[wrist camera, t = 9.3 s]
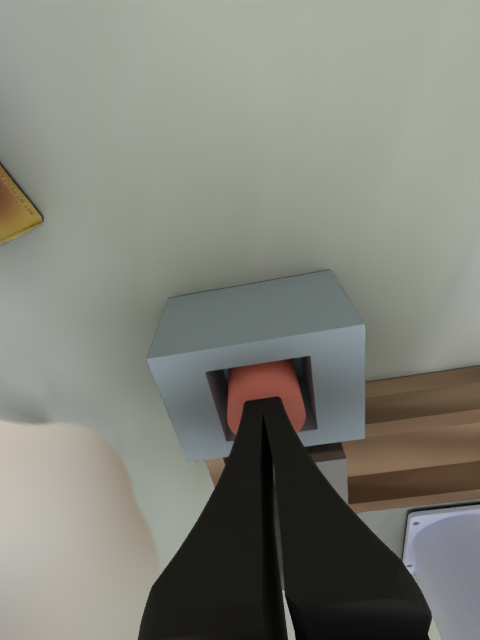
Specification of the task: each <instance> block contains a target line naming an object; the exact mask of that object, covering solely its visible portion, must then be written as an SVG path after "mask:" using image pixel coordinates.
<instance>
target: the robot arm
mask: <svg viewBox="0 0 480 640" xmlns="http://www.w3.org/2000/svg"><path fill="white" fill-rule="evenodd" d="M273 463H274V469H275V479H276V490H277V500H278V512H279V523H280V535H281V547H282V561H283V574H284V588H285V597H286V601H287V604H288V608H289V612H290V616H291V619H292V623H293V627H294V630H295V638H296V640H430V639H429V636H428V631H429V627H430V624H431V620H432V617H433V619H434V622H435V624H436V627H437V629H438V632H439V634H440V637H441V639H442V640H480V505H471V506H462V507H453V508H444V509H435V510H426V511H418V512H412V513H410V514H409V515H408V521H407V529H406V537H405V545H404V553H403V561H402V560H401V559H400V558H399V557H398V556H397V555H396V554H395V553H393V552H392V551H391V550H390V549H389V548H388V547H387V546H386V545H385V544H384V543H383V542H382V541H381V540H380V539H379V538H378V537H377V536H376V535H375V534H374V533H373V532H372V531H371V530H370V529H369V528H368V527H367V526H366V525H365V523H364V522H363V521H362V520H361V519H360V518H359V517H358V516H357V515H356V514H355V512H354V511H353V510H352V509H351V508H350V507H349V506H348V504H347V503H346V502H345V501H344V500H343V499H342V498H341V497H340V495H339V494H338V493H337V492H336V490H335V489H334V488H333V487H332V485H331V484H330V483H329V482H328V480H327V479H326V478H325V476H324V475H323V474H322V472H321V471H320V469H319V468H318V467H317V465H316V464H315V462H314V461H313V459H312V458H311V456H310V455H309V453H308V452H307V450H306V449H305V447H304V445H303V444H302V442H301V440H300V439H299V437H298V435H297V433H296V431H295V430H294V428H293V426H292V424H291V422H290V420H289V418H288V416H287V413H286V411H285V408H284V406H283V402H282V399H281V398H280V397H279V396H276V397H269V398H263V399H256V400H249V401H246V402H245V403H244V405H243V411H242V416H241V420H240V424H239V427H238V431H237V434H236V437H235V440H234V443H233V446H232V449H231V452H230V454H229V457H228V459H227V462H226V464H225V467H224V469H223V472H222V474H221V476H220V478H219V480H218V483H217V485H216V487H215V489H214V491H213V493H212V495H211V497H210V499H209V501H208V502H207V504H206V506H205V508H204V510H203V512H202V513H201V515H200V517H199V519H198V520H197V522H196V524H195V525H194V527H193V528H192V530H191V532H190V533H189V535H188V536H187V538H186V539H185V541H184V542H183V544H182V546H181V547H180V549H179V550H178V552H177V553H176V554H175V556H174V557H173V559H172V560H171V561H170V563H169V564H168V566H167V567H166V568H165V570H164V571H163V572H162V574H161V575H160V576H159V578H158V579H157V580H156V582H155V583H154V585H153V586H152V588H151V591H150V594H149V597H148V600H147V603H146V607H145V610H144V613H143V617H142V621H141V625H140V631H139V636H138V640H288V636H287V628H286V620H285V611H284V603H283V595H282V586H281V578H280V569H279V560H278V551H277V543H276V533H275V515H274V481H273ZM410 573H415V574H416V577H417V579H418V582H419V584H420V587H421V589H422V592H423V594H424V595H423V594H422V592H421V590H420V588H419V586H418V585H417V583H416V582H415V580H414V578H413V577H412V575H411V574H410Z"/></svg>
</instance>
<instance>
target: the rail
mask: <svg viewBox="0 0 480 640" xmlns="http://www.w3.org/2000/svg"><path fill="white" fill-rule="evenodd" d="M341 443H342V446H343V449H344V452H345V455H346V458H347V483H348V506H349V507H350V508H351V509H352V510H353V511H354V512H355V513H358V512H367V511H375V510H384V509H393V508H402V507H410V506H419V505H428V504H437V503H446V502H454V501H463V500H472V499H480V366H475V367H468V368H461V369H454V370H448V371H441V372H434V373H427V374H420V375H413V376H406V377H400V378H393V379H386V380H379V381H372V382H365V439H359V440H351V441H343V442H341ZM227 459H228V457H222V458H215V459H207V460H205V461H206V464H207V467H208V470H209V472H210V475H211V478H212V480H213V483H214V486H215V487H216V485H217V483H218V480H219V478H220V476H221V474H222V472H223V469H224V467H225V464H226V462H227Z"/></svg>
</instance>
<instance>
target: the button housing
mask: <svg viewBox="0 0 480 640" xmlns="http://www.w3.org/2000/svg"><path fill="white" fill-rule="evenodd" d="M365 340H366V324H365V322H364V321H363V319H362V318H361V316H360V315H359V313H358V312H357V310H356V308H355V307H354V305H353V304H352V302H351V301H350V299H349V298H348V296H347V295H346V293H345V291H344V290H343V288H342V287H341V285H340V284H339V282H338V281H337V279H336V278H335V276H334V274H333V273H332V271H331V270H327V271H321V272H315V273H309V274H304V275H298V276H292V277H287V278H281V279H275V280H269V281H264V282H258V283H252V284H247V285H241V286H235V287H229V288H224V289H218V290H212V291H207V292H201V293H195V294H189V295H184V296H178V297H172V298H169V299H168V302H167V305H166V307H165V310H164V313H163V315H162V318H161V321H160V323H159V326H158V328H157V331H156V334H155V336H154V339H153V342H152V344H151V347H150V350H149V352H148V355H147V357H146V361H147V363H148V366H149V368H150V371H151V373H152V376H153V378H154V380H155V383H156V385H157V388H158V390H159V392H160V395H161V397H162V400H163V402H164V405H165V407H166V409H167V412H168V414H169V417H170V419H171V422H172V424H173V426H174V429H175V431H176V434H177V436H178V438H179V441H180V443H181V446H182V448H183V451H184V453H185V455H186V458H187V460H188V462H192V461H200V460H207V459H215V458H222V457H229V454H230V452H231V449H232V446H233V443H234V440H235V437H236V435H235V434H234V433H233V432H232V431H231V429H230V427H229V425H228V421H227V410H228V374H229V368H234V367H240V366H246V365H253V364H259V363H266V362H272V361H279V360H285V359H292V358H293V362H294V366H295V370H296V375H297V379H298V383H299V387H300V391H301V395H302V399H303V403H304V408H305V412H306V419H305V422H304V425H303V427H302V428H301V430H300V431H299V432H298V433H297V435H298V437H299V439H300V440H301V442H302V444H303V445H304V447H306V446H313V445H321V444H328V443H336V442H343V441H351V440H359V439H365Z"/></svg>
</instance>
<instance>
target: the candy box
mask: <svg viewBox="0 0 480 640" xmlns="http://www.w3.org/2000/svg"><path fill="white" fill-rule="evenodd" d="M41 223H42V217H41V216H40V214H39V213H38V212H37V210H36V209H35V208H34V207H33V205H32V204H31V203H30V201H29V200H28V199H27V198H26V197H25V196H24V194H23V193H22V192H21V191H20V189H19V188H18V187H17V186H16V185H15V183H14V182H13V181H12V179H11V178H10V177H9V175H8V174H7V173H6V172H5V170H4V169H3V168H2V166H1V165H0V246H2V245H4V244H6V243H8V242H10V241H12V240H14V239H16V238H17V237H19V236H21V235H23V234H24V233H26V232H28V231H30V230H31V229H33V228H35V227H37V226H38V225H40V224H41Z"/></svg>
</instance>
